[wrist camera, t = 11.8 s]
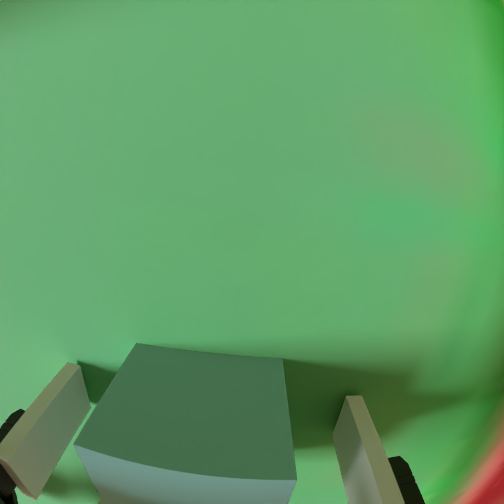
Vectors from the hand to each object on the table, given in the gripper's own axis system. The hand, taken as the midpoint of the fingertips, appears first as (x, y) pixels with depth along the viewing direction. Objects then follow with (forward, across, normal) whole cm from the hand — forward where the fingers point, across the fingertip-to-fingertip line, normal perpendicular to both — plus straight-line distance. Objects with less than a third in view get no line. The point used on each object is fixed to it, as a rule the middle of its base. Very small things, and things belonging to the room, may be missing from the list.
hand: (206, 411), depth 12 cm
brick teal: (0, 0, 0) cm, 0 cm away
